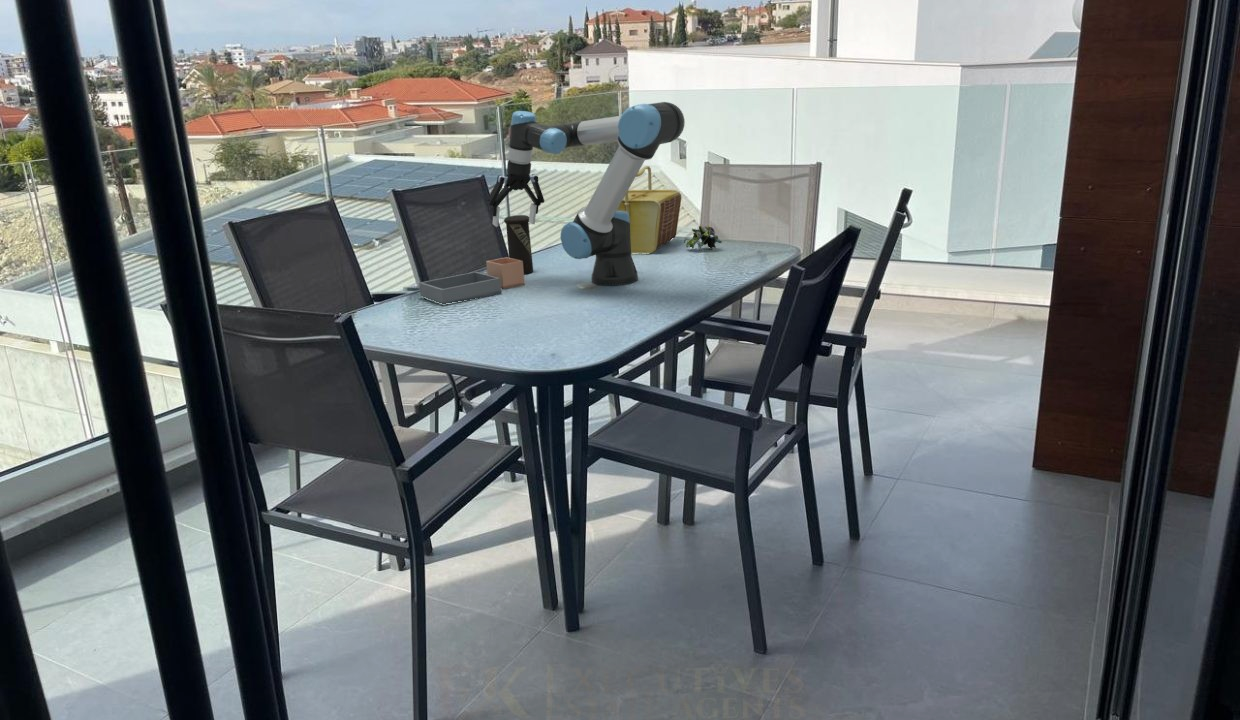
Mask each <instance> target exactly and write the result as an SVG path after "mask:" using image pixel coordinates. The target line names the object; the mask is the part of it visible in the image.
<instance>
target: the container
mask: <svg viewBox="0 0 1240 720" xmlns="http://www.w3.org/2000/svg"><path fill="white" fill-rule="evenodd" d="M503 222H504V223H505V225H506V227H505V228H506V238H507V247H508V248H507V249H508V258H512V259H516V260H521V261H523V270H524V275H527V274H528V273H529V274H531V273H533V272H534V263H533V255H532V254H533V253H532V245H531V236H530V225H529V224H530V222H529V216H528V215H526V214H516V215H509V216H506V217H504V219H503Z"/></svg>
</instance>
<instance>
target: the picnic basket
mask: <svg viewBox="0 0 1240 720" xmlns="http://www.w3.org/2000/svg"><path fill="white" fill-rule="evenodd" d="M646 170H647V178H648V179H647V181H648V182H647V184H648V185H647V186H648V189H629V190H628V191H627V193H626V195H625V197H624V198H623V200H622V202H621V204H620V206H619V207H618V209H617V211H626V212H627V213H628V214H629V220H630V237H631V253H651V254H652V253H654V252H655V251H656V250H657V249H658V248H659V249H660V247H662V246H664V245H666V244H667V243H669V242H668V241H670V240H671V239H672V238H674V239H675V238H676V237H677V231H678V224H679V218H680V210H681V204H682V203H681V202H682V193H680V191H678V190H676V189H652V188H653V187H652V169H651V167H650V166H649V165H646V166H643V167H641V168H640V170H639V172H638V174H637V175H636V177H635V178H637V177H641V176H642V175H643V174H644V173H645V171H646ZM670 242H671V241H670Z"/></svg>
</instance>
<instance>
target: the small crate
mask: <svg viewBox="0 0 1240 720" xmlns="http://www.w3.org/2000/svg"><path fill="white" fill-rule="evenodd" d="M485 262H486V272H487V275H490V276H494V277H498V278H500V281H501V288H502V289H503V290H507V289H510V288H516V287H521V285H522V286H525V285H526V284H525V282H526V281H525V274H524V270H523V261H521V260H516V259H512V258H509V256H508V257H507V256H506V257H501V258H495V259H491V260H485ZM502 289H501V290H502Z"/></svg>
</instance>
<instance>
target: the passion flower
mask: <svg viewBox="0 0 1240 720" xmlns="http://www.w3.org/2000/svg"><path fill="white" fill-rule="evenodd" d="M691 231H692V232H693V235H692V238H690V239H689V238H687V237H685V238H684V240H683V243H684V244H686V245H685V247H686V248H688V247H689V248H690V247H692V249H694V247H695V245H696V244H697V251H698V252H699V251H700V249H701V248H702V247H703V246H706V245H707V247H710V248H713V249H717V248H716V247H717V246H716V243H717V244H722V242H723V241H722V240H720V238H719V236H718V235H716V231H715V229H714V228H713V227H712V226H709V225H707V226H704V227H703V226H702V225H699V226H698V228H697V229H696V228H693V227H692V229H691ZM687 240H688V241H687ZM700 240H701V241H700ZM686 241H687V242H686ZM710 248H709V249H710Z"/></svg>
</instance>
